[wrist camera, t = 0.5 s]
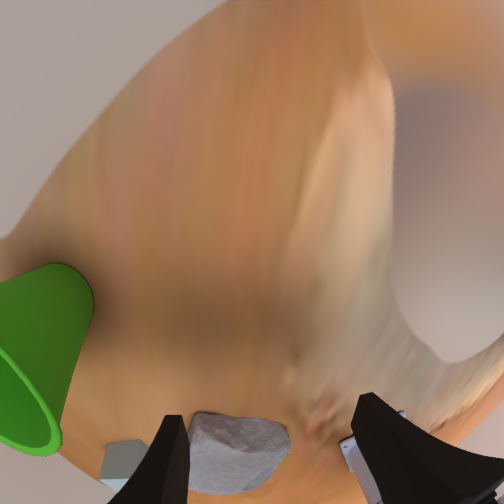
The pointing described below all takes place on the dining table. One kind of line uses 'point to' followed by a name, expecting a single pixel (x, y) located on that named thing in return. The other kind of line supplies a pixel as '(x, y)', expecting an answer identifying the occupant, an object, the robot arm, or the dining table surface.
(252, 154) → the dining table surface
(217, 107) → the dining table surface
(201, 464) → the stone block
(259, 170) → the dining table surface
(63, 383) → the cup
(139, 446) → the cube
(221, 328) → the dining table surface
